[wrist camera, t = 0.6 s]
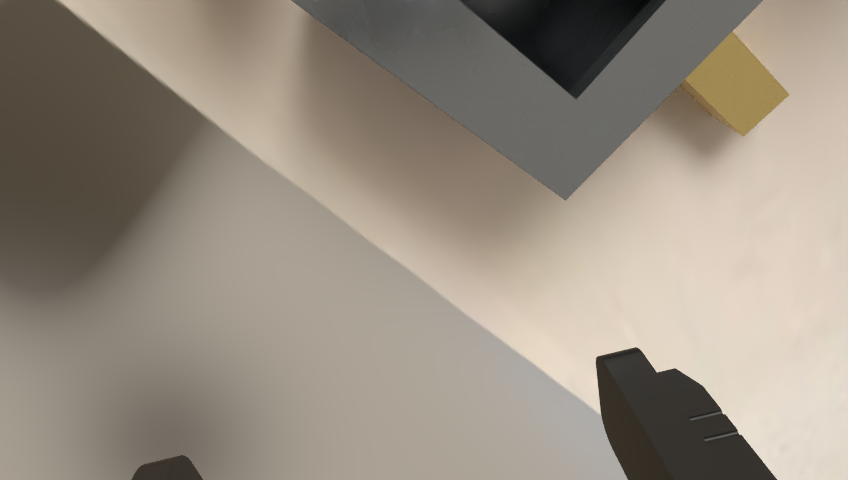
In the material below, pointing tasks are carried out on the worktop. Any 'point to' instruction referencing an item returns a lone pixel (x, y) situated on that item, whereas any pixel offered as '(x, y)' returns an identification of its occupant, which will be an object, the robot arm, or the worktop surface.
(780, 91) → the wooden block
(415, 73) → the box
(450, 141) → the worktop surface
